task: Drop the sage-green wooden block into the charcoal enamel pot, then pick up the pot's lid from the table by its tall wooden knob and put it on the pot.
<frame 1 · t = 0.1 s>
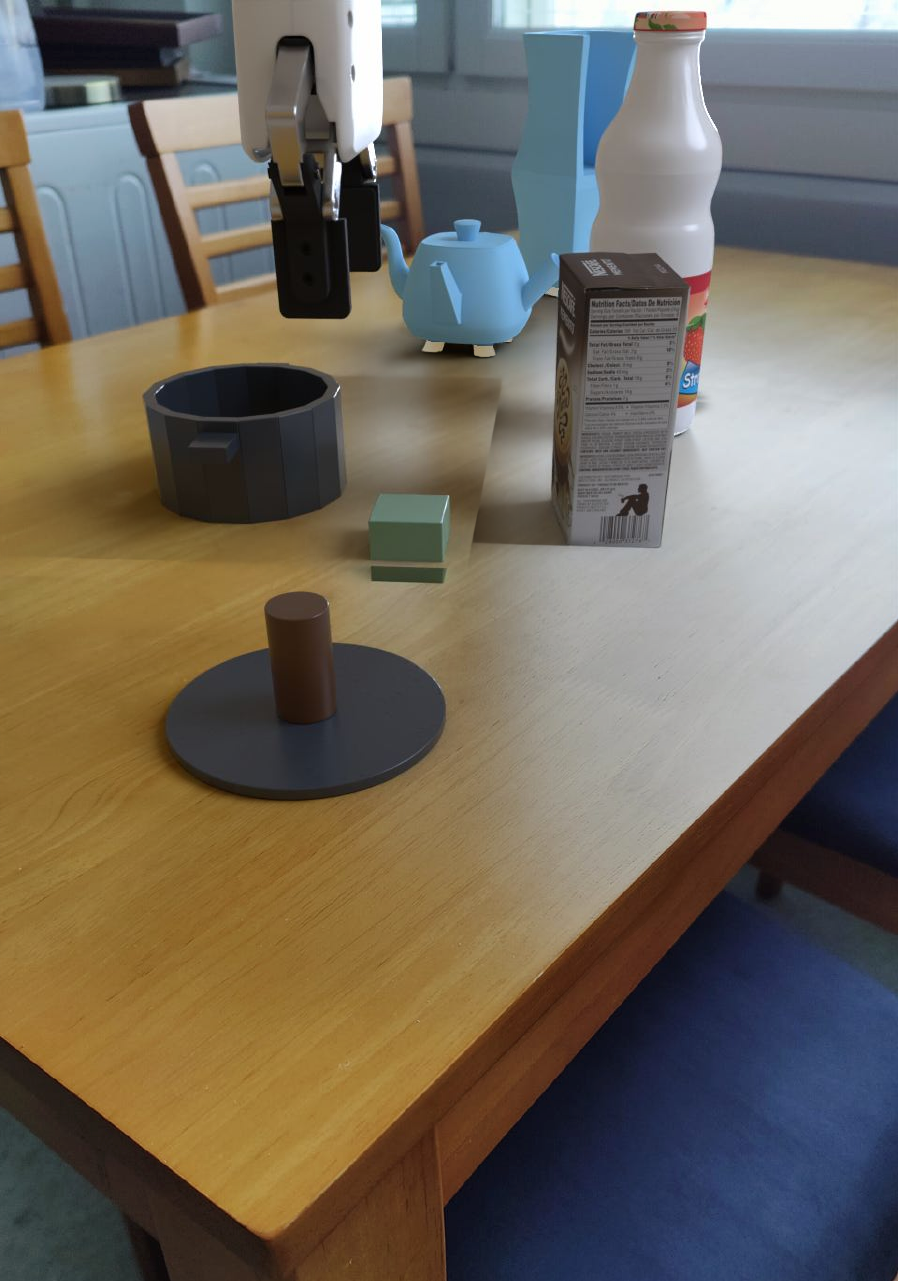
hand: (335, 292, 55), 18 cm above the table, tool pointing down, fingers open, 9 cm apart
lid: (307, 718, 56), point 1 cm above the table
pot: (256, 514, 79), on the table
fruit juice: (635, 426, 93), on the table
block: (411, 575, 71), on the table
vase: (568, 288, 134), on the table
teapot: (465, 349, 113), on the table
coffee box: (602, 526, 77), on the table
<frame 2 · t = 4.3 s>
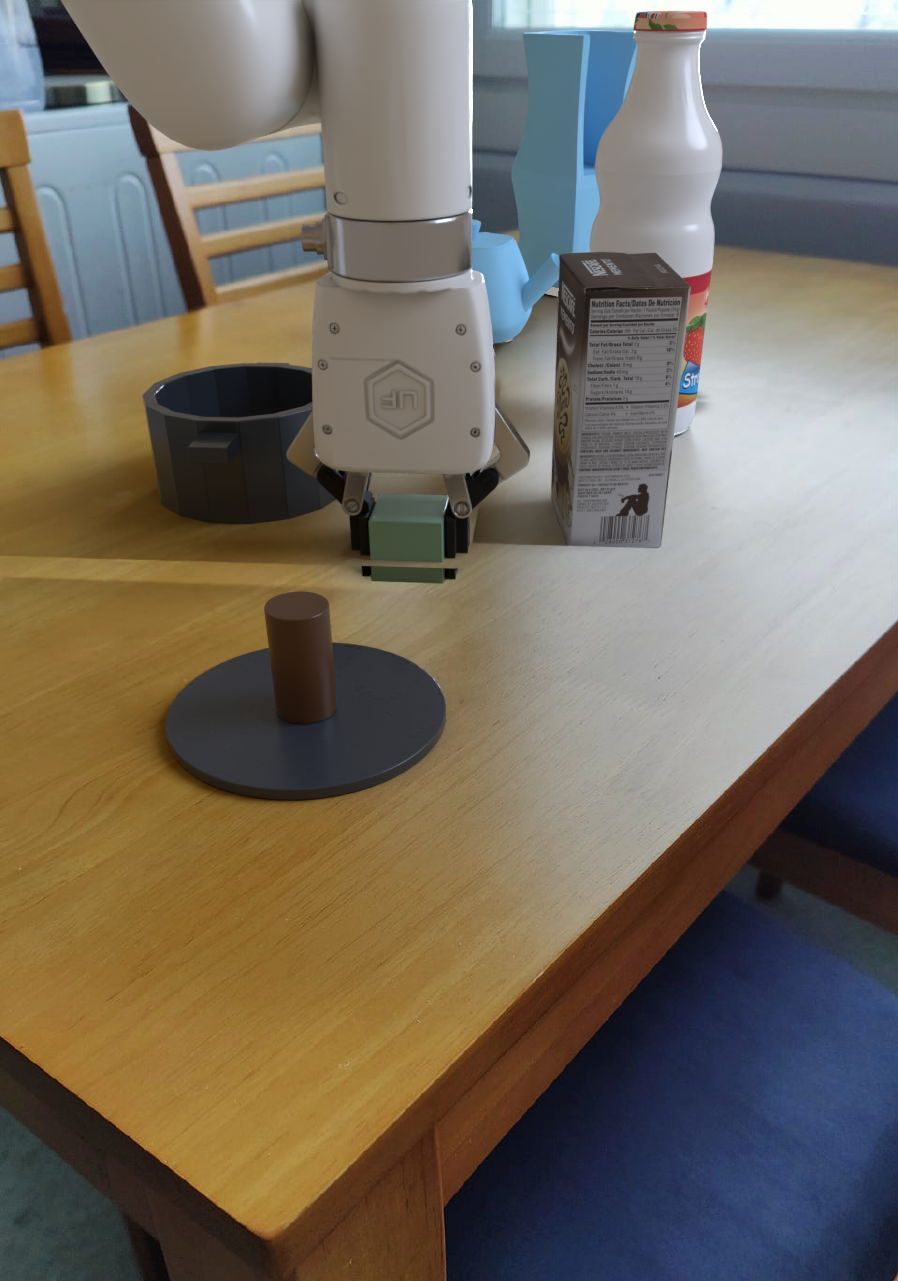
hand: (411, 566, 70), 1 cm above the table, tool pointing down, fingers closed on block, 4 cm apart
block: (411, 575, 71), on the table, touching gripper
everything else where it was.
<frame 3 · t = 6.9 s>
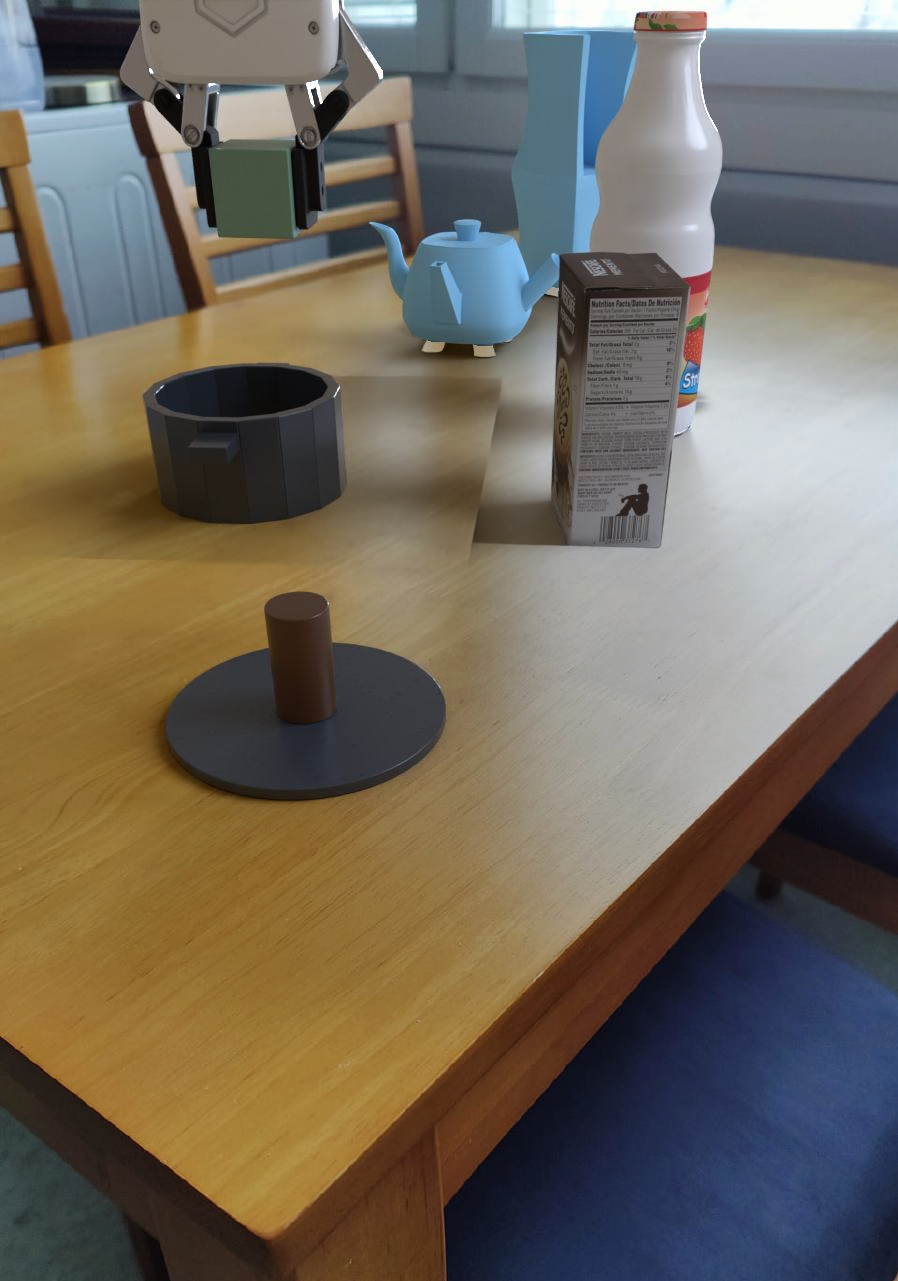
hand: (263, 221, 65), 19 cm above the table, tool pointing down, fingers closed on block, 4 cm apart
block: (265, 231, 66), point 18 cm above the table, touching gripper
everything else where it was.
when the fingers open (9 cm above the table, at t = 9.6 s): block drops 8 cm, resting on pot.
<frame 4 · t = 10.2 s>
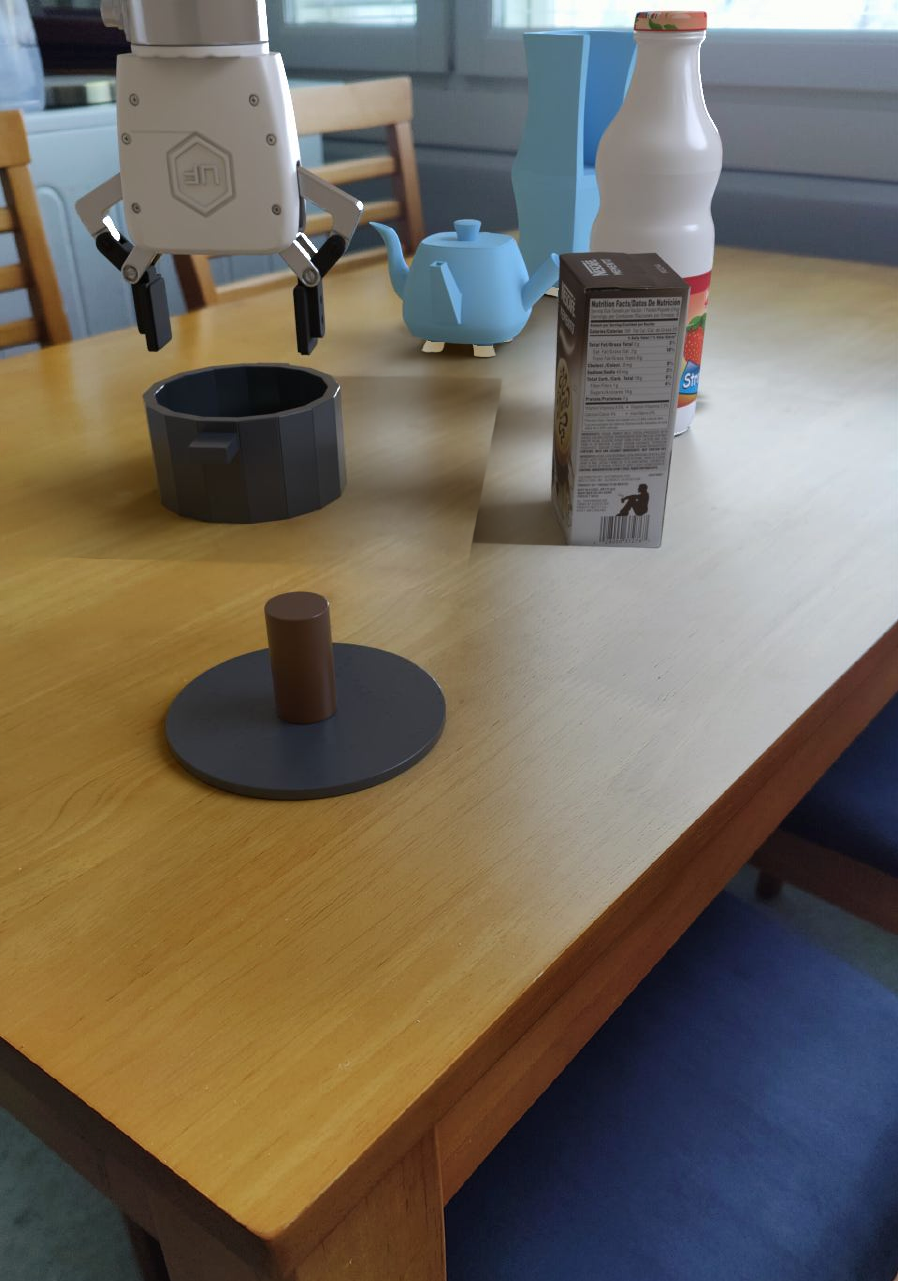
hand: (234, 348, 72), 11 cm above the table, tool pointing down, fingers open, 9 cm apart
block: (255, 507, 78), resting on pot
everything else where it was.
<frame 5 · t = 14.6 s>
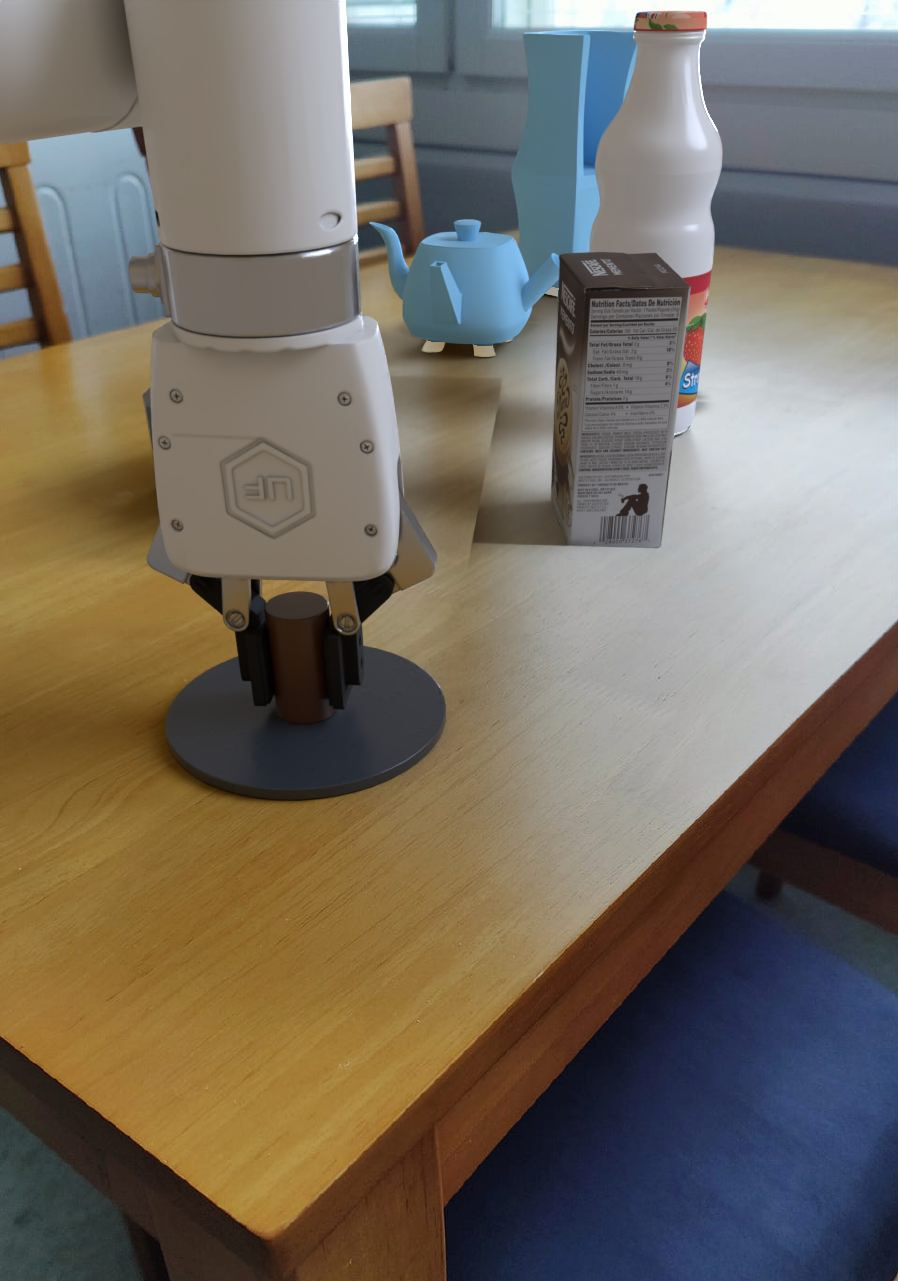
hand: (305, 690, 55), 2 cm above the table, tool pointing down, fingers closed on lid, 3 cm apart
lid: (307, 718, 56), point 1 cm above the table, touching gripper
everything else where it was.
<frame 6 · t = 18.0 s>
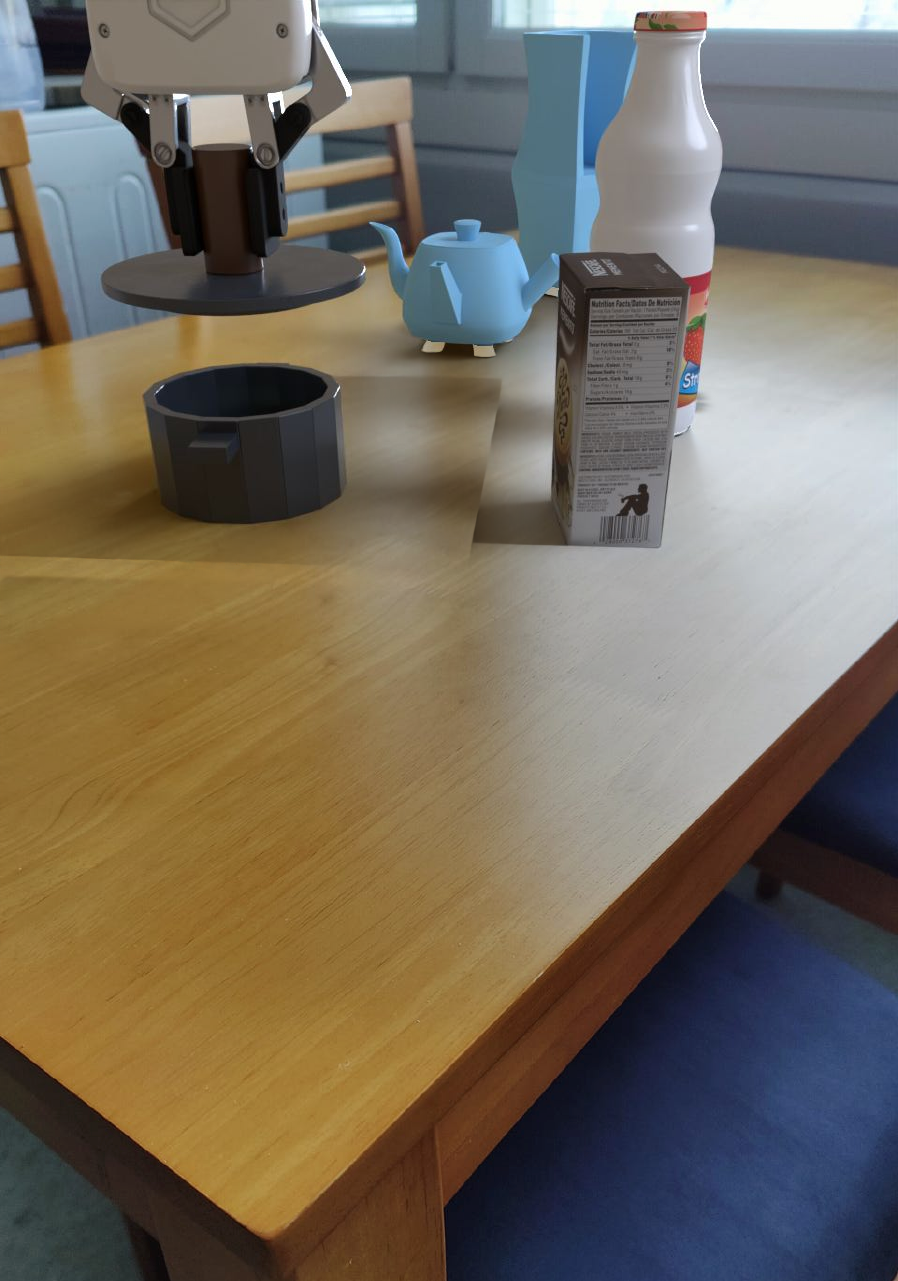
hand: (232, 248, 59), 19 cm above the table, tool pointing down, fingers closed on lid, 3 cm apart
lid: (236, 281, 60), point 17 cm above the table, touching gripper
everything else where it was.
when the fingers open (10 cm above the table, at t = 21.4 s): lid stays where it is, resting on pot.
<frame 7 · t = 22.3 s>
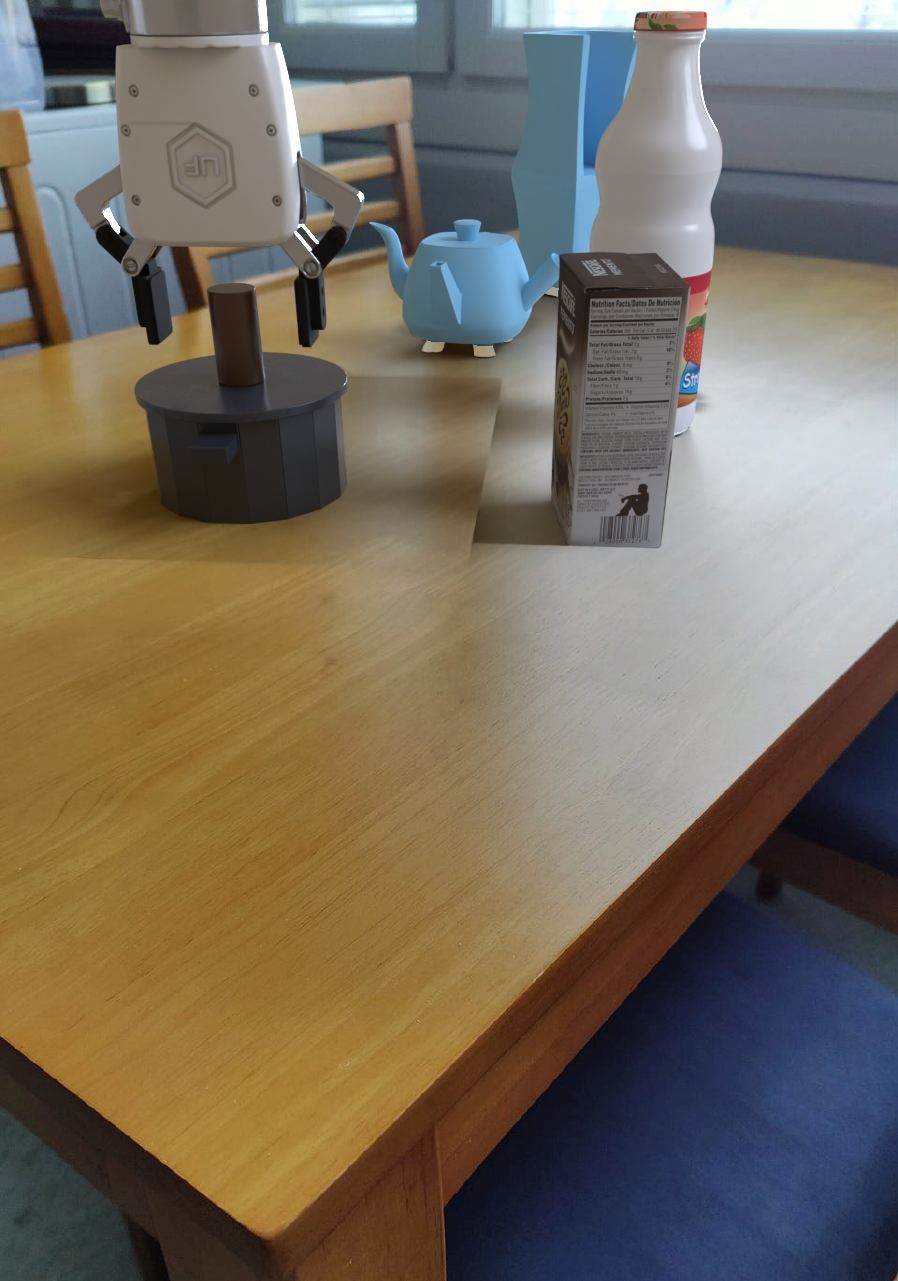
hand: (235, 340, 72), 12 cm above the table, tool pointing down, fingers open, 9 cm apart
lid: (242, 390, 74), point 8 cm above the table, touching pot
everything else where it was.
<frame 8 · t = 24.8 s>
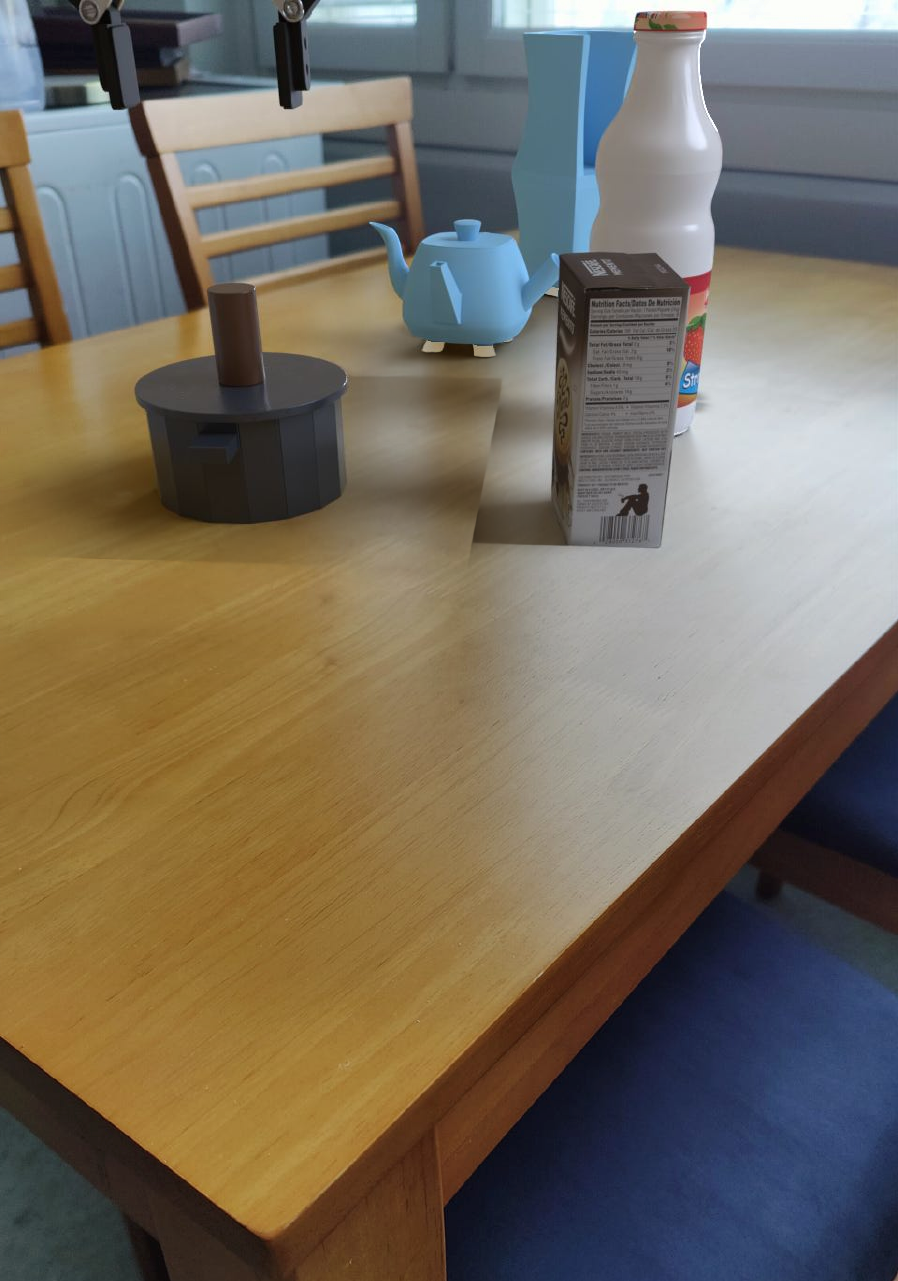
hand: (208, 107, 64), 24 cm above the table, tool pointing down, fingers open, 9 cm apart
nothing on the table moved.
at the end: block inside the target area in the pot (0.0 cm from its centre), point 0.5 cm above the pot's base; lid 0.1 cm off-centre on the pot, point 8.5 cm above the pot's base; lid tilted 0° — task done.
